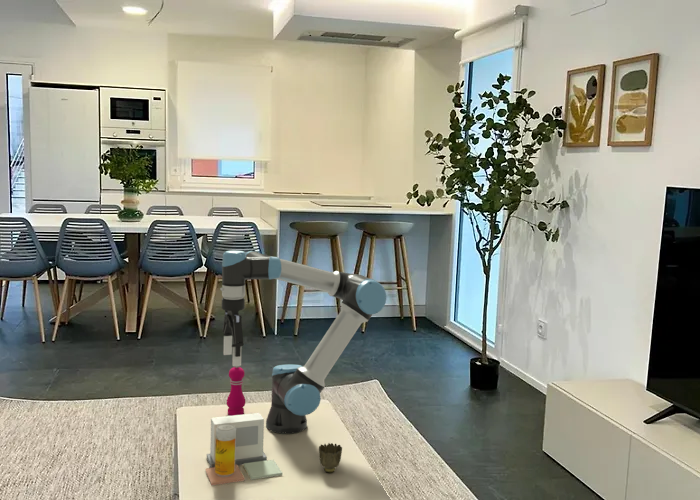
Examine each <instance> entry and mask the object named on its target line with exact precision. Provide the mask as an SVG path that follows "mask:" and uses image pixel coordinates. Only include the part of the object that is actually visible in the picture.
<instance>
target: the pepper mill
mask: <svg viewBox="0 0 700 500" xmlns="http://www.w3.org/2000/svg"><path fill="white" fill-rule="evenodd" d="M228 376H229V377H228V378H230V379H229V384H230V392H229V395H228V396H227V399H226V406H227V407H228V408H227V416H233V415H243V414H244V413H245V408H244V407H245V405H246V398H245V397H246V396H245V395H244V393H243V388H242V386H243V383H244V379H243V378H244V377H245V370H244V369H243V368H242V367H241V366H232V367H231V368H230V369H229V371H228Z"/></svg>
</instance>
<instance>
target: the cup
mask: <svg viewBox="0 0 700 500" xmlns="http://www.w3.org/2000/svg"><path fill="white" fill-rule="evenodd" d="M342 452H343V447H342V446H341V444H338V445H337V443H334V444H333V442H332V443H331V442H328V443H327V444H326V443H324V444H320V445H319V446H318V455H319V456H318V457H319V462H320V466H322V467H323V471H324V472H325V473H327V474H333V473H335V471H336V469H337V467H338V466H339V465H340V463H341V458H342Z"/></svg>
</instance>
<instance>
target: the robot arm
mask: <svg viewBox="0 0 700 500" xmlns="http://www.w3.org/2000/svg"><path fill="white" fill-rule="evenodd" d="M221 263H222V264H221V271H222V273H221V274H222V275H221V276H222V277H221V278H222V279H221V286H222V287H220V288H219V289H220V291H221V296H222V298H221V309H222V310H223V311H224V316H223V323H222V329H221V330H222V333H223V356H230V355H231V356H232V364H231V365H232V367H235V366H239V367H241V366H242V350H243V348H242V347H243V346H244V344H245V343H244V335H243V326H242V325H243V324H242V318H243V317H242V315H240V313H239V312H240V311H243V310H245V308H246V305H245V296H246V280H274V279H275V280H279V281H282V282H285V283H290V284H293V285H296V286H302V287H305V288H309V289H314V290H317V291H321V292H324V293H327V294H328V295H329V296H330V297H334V298H337V299H340V300H341V302H340V306H341V310H340V312H339V313H338V314H337V316H336V317H335V319H334V320H333V322H332V323H331V325H330V327H329V328H328V330H326V332H325V334H324V335H323V337H322V339H321V340H320V342H319V343H318V345H317V346H316V347H315V349H314V351H313V352H312V354H311V355H310V357H309V359H308V360H307V361H306V363H305V364H304V365H301V364H288V363H287V364H279V365H276V366H274V367H273V368H272V373H271V402H270V403H271V405H270V409H269V411H268V414H267V416H266V421H265V428H267V430H268V431H271V432H273V433H277V434H289V435H290V434H296V433H301V432H303V431H305V430H306V429H307V428H308V427H307V426H308V419H307V416H308V415H310V414H313V413H314V412H315V411H316V410H317V409H318V408H319V406H320V404H321V394H322V391H323V390H324V389H325V387H326V383H325V380H326V378H327V376H328V375H329V373H330V372H331V370H332V368H333V367H334V366H335V364H336V362H338V359H339V358H340V356H341V355H342V354H343V352H344V350H345V349H346V347H347V346H348V345H349V343H350V341H351V340H352V338H354V335H355V334H356V332H357V331H358V329H359V328H360V327H361V325H362V324H363V323H367V322H368V321H369V320H370V319H371V317H372V315H376V314H378V313H380V312H381V311H382V310H383V309H384V307H385V305H386V303H387V293H386V292H387V291H386V290H385V288H384V286H383V285H382V284H381V283H380V282H378V281H377V280H375V279H373V278H369V277H367V276H365V275H361V274H357V273H351V272H350V273H349V272H344V271H343V272H342V271H339V270H335V271H332V272H331V271H328V270H324V269H320V268H316V267H313V266H309V265H306V264H302V263H298V262H294V261H290V260H287V259H283V258H279V256H271V255H268V254H264V253H260V252H258V251H255V250H250V251H246V252H245V251H243V250H226V251H224V252H223V253H222V261H221Z"/></svg>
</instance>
